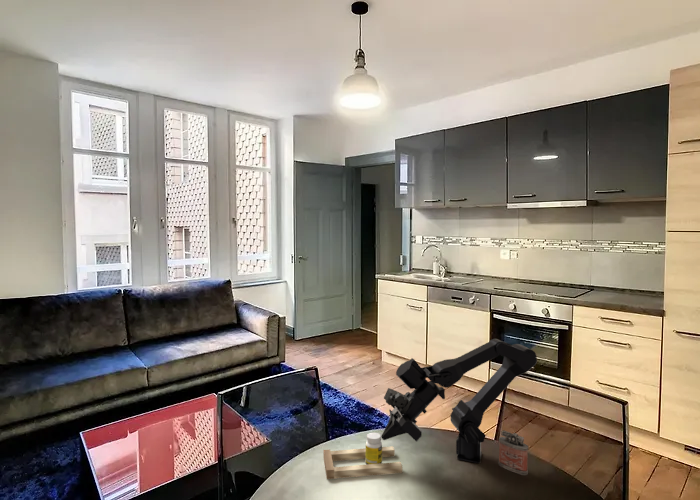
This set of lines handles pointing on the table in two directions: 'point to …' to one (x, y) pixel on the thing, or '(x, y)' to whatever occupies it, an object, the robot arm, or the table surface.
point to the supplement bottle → (373, 449)
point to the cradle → (358, 469)
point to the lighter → (513, 453)
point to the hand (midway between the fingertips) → (382, 438)
